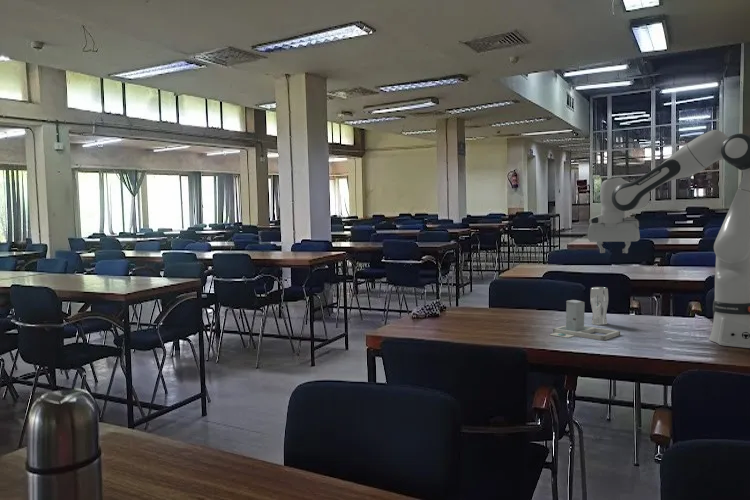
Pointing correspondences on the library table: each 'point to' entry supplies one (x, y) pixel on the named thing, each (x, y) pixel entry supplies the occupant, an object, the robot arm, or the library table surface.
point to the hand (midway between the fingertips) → (613, 253)
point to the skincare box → (575, 315)
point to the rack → (585, 333)
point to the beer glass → (599, 305)
